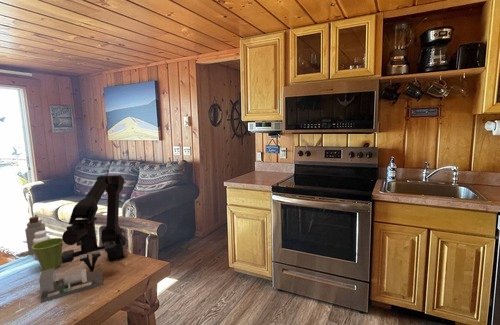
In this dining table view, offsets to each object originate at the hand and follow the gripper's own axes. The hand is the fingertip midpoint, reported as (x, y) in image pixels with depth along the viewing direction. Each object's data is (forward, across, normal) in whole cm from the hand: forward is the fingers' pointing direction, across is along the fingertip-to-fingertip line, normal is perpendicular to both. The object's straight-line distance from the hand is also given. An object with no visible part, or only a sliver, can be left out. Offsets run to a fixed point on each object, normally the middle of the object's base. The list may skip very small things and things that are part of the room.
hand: (92, 271), depth 114 cm
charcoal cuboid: (+2, +10, +6) cm, 12 cm away
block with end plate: (+2, +6, +1) cm, 6 cm away
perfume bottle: (+4, +23, -48) cm, 53 cm away
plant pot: (+4, +16, -24) cm, 29 cm away
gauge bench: (+4, +7, +1) cm, 8 cm away
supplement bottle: (+4, +20, -38) cm, 43 cm away
